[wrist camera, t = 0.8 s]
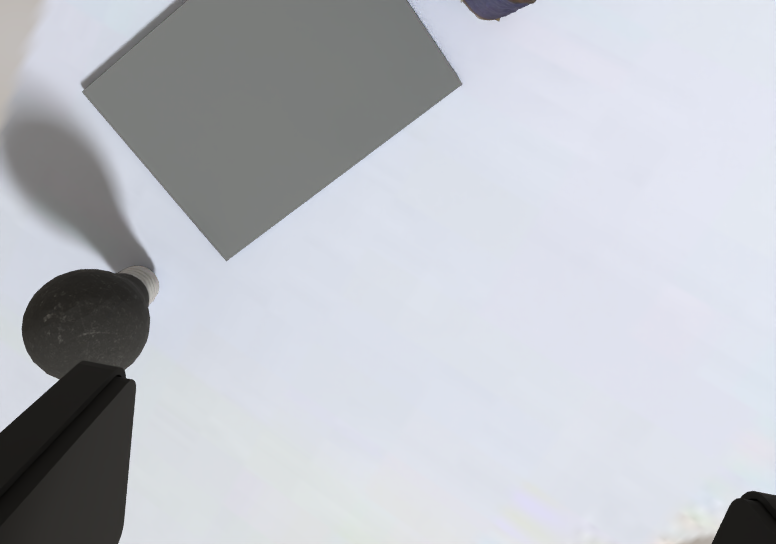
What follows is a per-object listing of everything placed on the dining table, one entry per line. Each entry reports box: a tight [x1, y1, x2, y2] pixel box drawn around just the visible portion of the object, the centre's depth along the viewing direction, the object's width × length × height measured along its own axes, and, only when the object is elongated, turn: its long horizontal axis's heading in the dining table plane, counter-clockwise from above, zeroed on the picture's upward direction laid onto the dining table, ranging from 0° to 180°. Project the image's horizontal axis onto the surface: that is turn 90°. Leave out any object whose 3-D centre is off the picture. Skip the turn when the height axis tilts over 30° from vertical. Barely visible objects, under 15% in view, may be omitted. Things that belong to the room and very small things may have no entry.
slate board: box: [82, 0, 462, 261], centre depth 33 cm, size 17×12×1 cm
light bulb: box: [22, 266, 159, 379], centre depth 32 cm, size 6×6×10 cm
